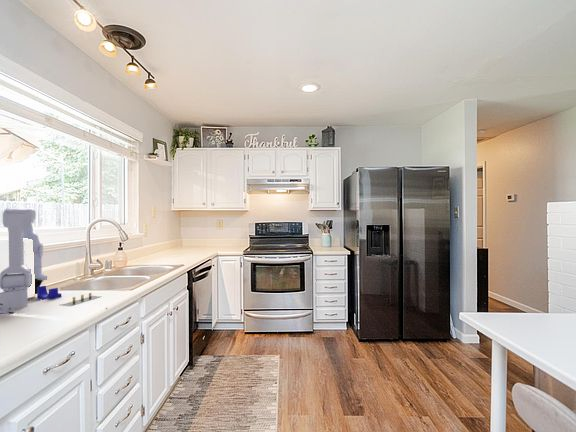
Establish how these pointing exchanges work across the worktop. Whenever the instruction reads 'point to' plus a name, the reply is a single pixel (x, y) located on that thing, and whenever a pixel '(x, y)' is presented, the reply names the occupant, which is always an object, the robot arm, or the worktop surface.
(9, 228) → the robot arm
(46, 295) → the cable clip
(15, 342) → the worktop surface
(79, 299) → the header plate
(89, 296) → the header pins
